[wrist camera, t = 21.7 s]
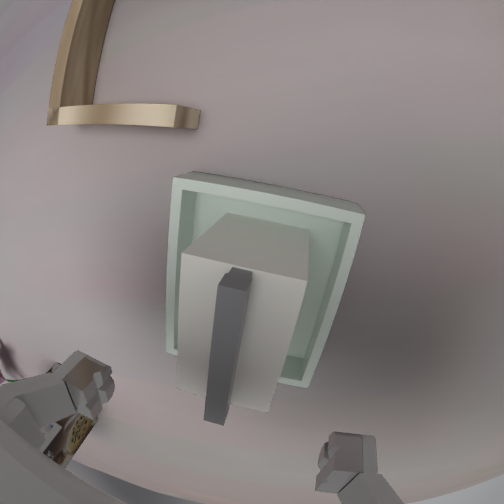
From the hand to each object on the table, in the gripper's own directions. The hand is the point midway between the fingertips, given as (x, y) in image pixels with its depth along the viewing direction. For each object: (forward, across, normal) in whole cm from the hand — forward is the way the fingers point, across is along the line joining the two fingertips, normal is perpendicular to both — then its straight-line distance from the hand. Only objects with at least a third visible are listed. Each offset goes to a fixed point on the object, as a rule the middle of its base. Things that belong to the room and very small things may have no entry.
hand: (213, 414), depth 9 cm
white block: (+11, +1, 0) cm, 11 cm away
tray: (+12, +1, 0) cm, 12 cm away
